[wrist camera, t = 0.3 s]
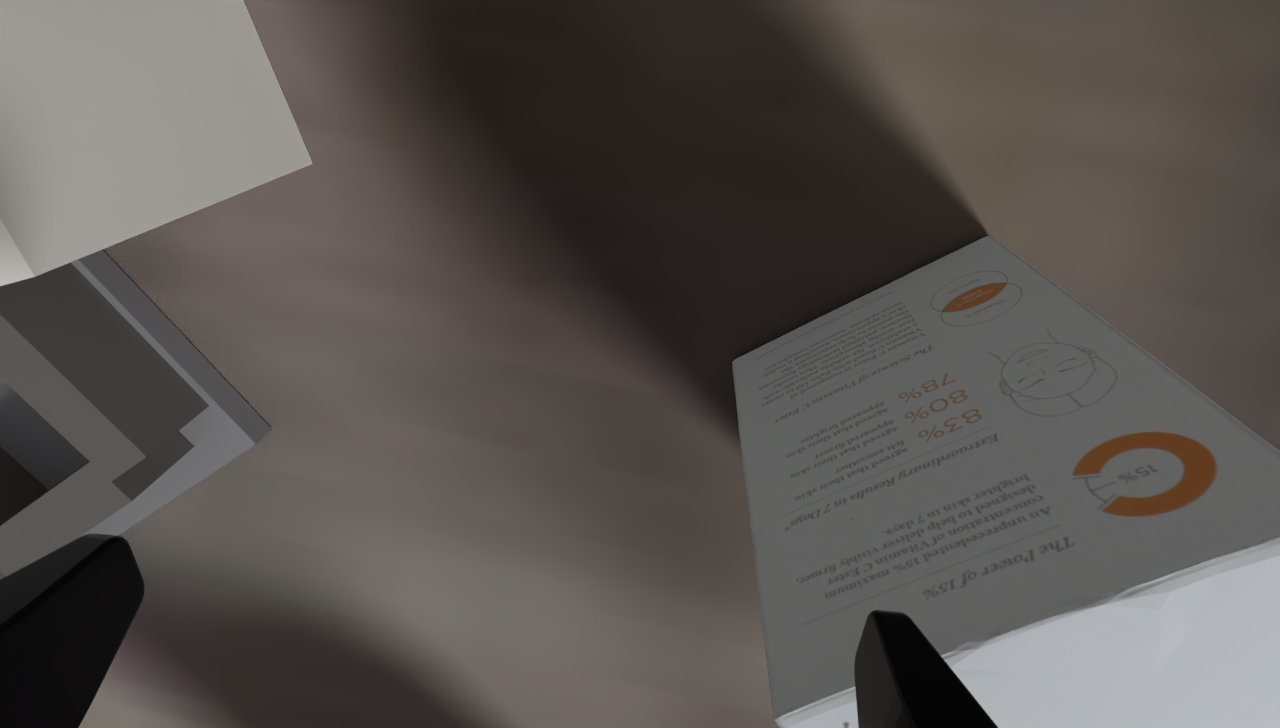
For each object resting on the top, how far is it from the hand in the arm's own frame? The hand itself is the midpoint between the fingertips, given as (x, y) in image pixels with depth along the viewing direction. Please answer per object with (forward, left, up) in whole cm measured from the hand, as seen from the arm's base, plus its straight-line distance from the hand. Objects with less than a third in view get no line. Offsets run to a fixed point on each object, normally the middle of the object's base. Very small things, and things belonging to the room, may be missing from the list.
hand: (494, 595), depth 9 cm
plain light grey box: (+3, +11, -14) cm, 18 cm away
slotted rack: (-6, +17, -14) cm, 23 cm away
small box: (-2, -9, -14) cm, 17 cm away
